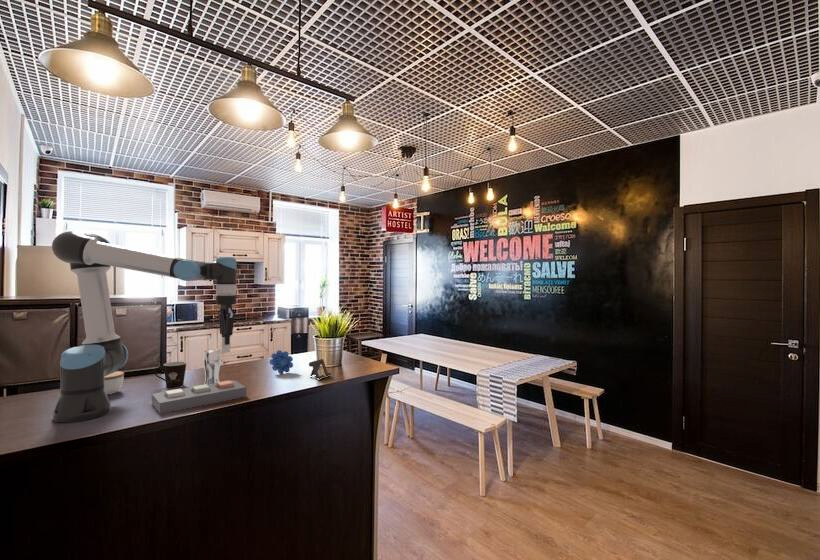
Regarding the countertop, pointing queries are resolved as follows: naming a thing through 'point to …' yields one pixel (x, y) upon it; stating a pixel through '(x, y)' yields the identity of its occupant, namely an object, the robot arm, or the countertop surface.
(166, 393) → the cream key
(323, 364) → the portable electronic device stand
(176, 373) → the coffee mug
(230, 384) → the terracotta key
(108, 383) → the lidded jar
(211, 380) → the beer glass
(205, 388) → the sage key
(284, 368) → the blue gear
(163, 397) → the keypad
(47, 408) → the countertop surface
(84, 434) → the countertop surface
